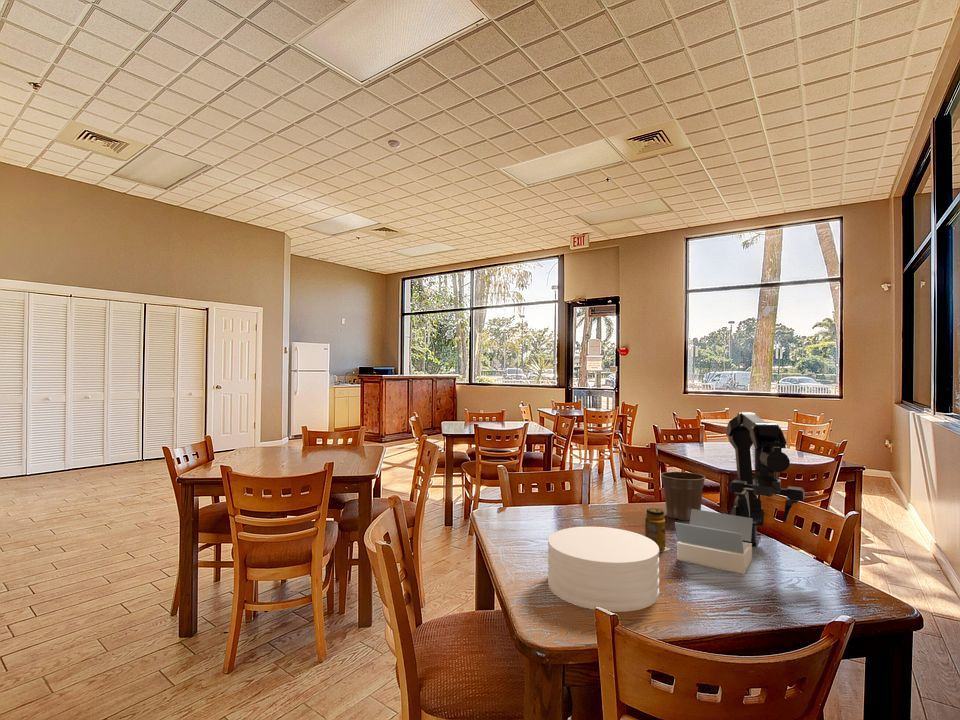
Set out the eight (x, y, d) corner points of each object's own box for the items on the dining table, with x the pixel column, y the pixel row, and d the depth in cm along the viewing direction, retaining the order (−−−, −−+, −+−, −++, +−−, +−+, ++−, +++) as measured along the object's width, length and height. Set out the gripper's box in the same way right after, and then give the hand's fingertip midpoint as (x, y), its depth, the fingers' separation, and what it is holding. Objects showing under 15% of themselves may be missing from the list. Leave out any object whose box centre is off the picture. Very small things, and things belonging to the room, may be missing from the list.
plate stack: (683, 596, 127) (683, 550, 127) (599, 623, 113) (599, 571, 113) (604, 560, 151) (604, 521, 152) (527, 578, 137) (527, 535, 138)
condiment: (671, 549, 161) (671, 511, 161) (654, 554, 156) (653, 515, 156) (652, 542, 167) (652, 505, 167) (634, 547, 162) (634, 509, 162)
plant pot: (652, 512, 204) (652, 471, 204) (689, 510, 207) (689, 470, 207) (675, 524, 188) (675, 480, 188) (714, 521, 191) (714, 478, 191)
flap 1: (688, 530, 161) (688, 530, 162) (750, 541, 151) (750, 541, 151) (691, 508, 164) (691, 509, 165) (752, 518, 154) (752, 518, 154)
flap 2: (743, 552, 141) (743, 553, 141) (678, 540, 152) (677, 541, 151) (741, 533, 139) (741, 534, 139) (675, 522, 149) (674, 522, 149)
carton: (688, 547, 162) (688, 532, 162) (751, 560, 151) (751, 543, 151) (677, 559, 151) (677, 542, 151) (744, 574, 141) (744, 556, 141)
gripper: (725, 466, 148) (725, 520, 147) (801, 474, 137) (801, 532, 136) (732, 461, 157) (733, 512, 156) (804, 468, 146) (805, 522, 145)
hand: (766, 519), depth 148 cm, fingers open, 9 cm apart
